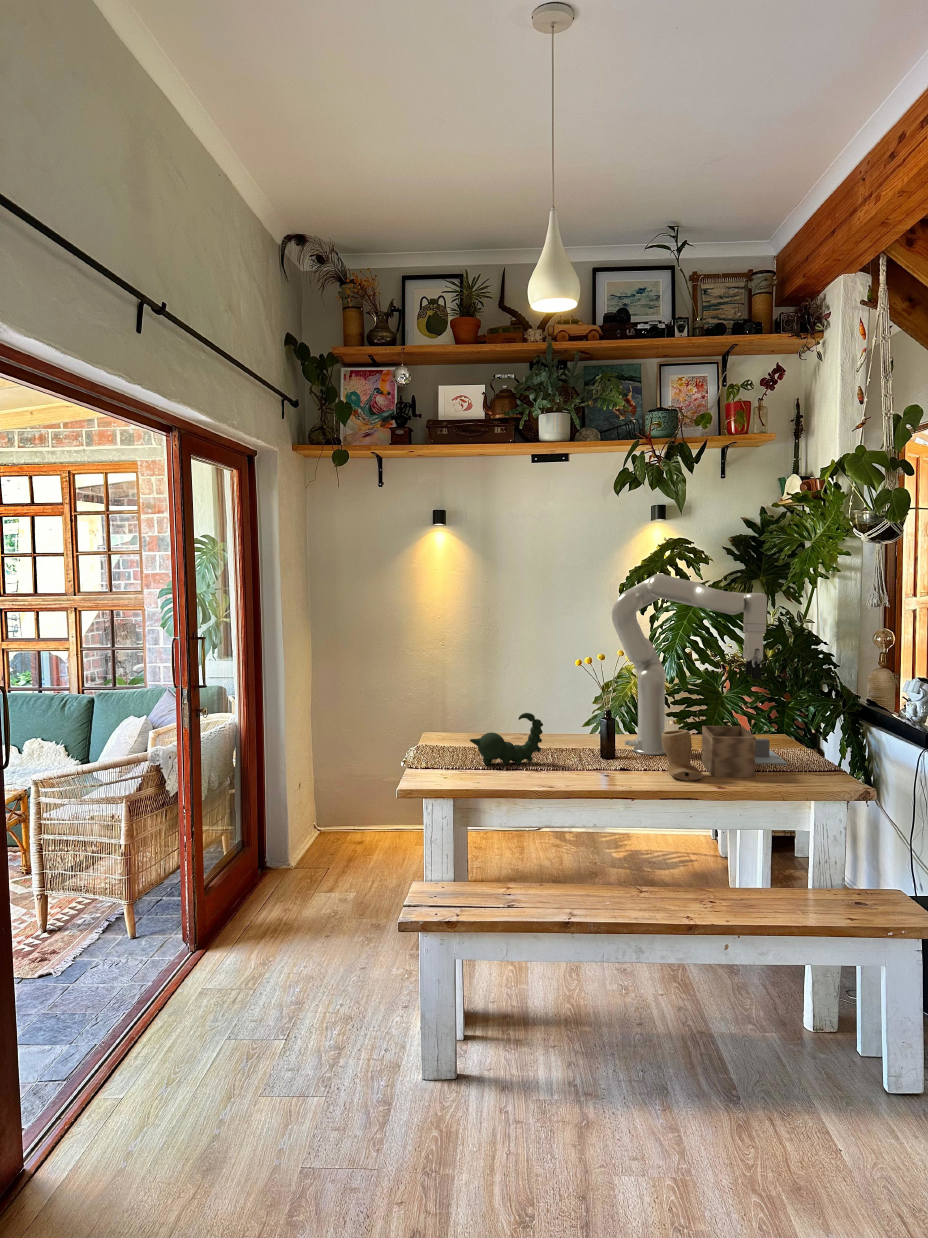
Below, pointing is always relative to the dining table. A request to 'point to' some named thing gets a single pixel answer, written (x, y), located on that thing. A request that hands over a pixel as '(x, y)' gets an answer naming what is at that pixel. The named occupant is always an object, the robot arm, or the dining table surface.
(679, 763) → the tan boot
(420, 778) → the dining table surface
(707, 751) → the crate
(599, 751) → the dining table surface
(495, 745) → the toy figurine
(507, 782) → the dining table surface
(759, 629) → the robot arm
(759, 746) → the lid
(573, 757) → the dining table surface
